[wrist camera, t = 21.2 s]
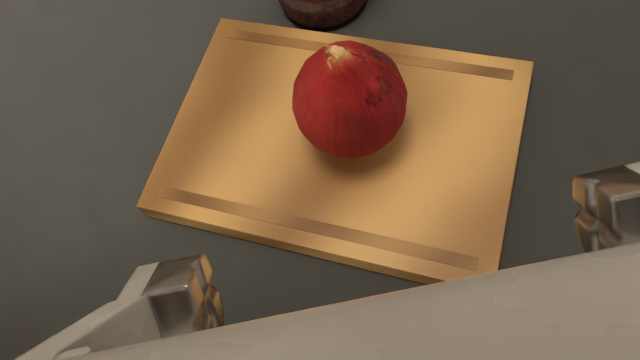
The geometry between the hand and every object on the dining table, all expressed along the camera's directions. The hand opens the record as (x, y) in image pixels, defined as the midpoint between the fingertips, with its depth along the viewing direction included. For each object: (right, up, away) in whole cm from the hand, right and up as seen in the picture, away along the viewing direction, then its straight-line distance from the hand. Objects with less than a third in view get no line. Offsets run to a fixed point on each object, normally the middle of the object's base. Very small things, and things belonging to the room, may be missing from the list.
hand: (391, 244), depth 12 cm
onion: (+1, +4, +20) cm, 20 cm away
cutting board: (0, +3, +21) cm, 22 cm away
